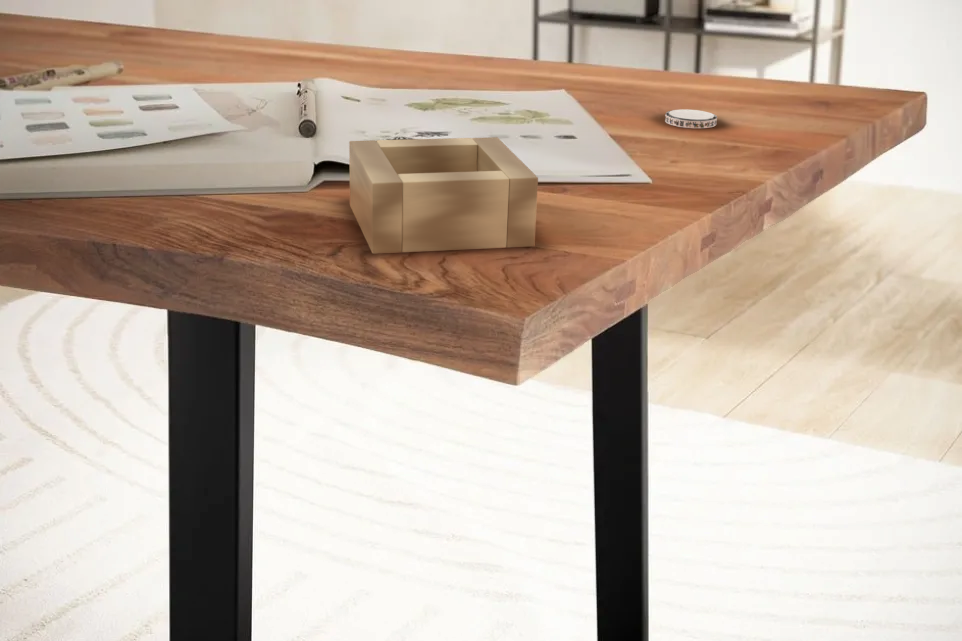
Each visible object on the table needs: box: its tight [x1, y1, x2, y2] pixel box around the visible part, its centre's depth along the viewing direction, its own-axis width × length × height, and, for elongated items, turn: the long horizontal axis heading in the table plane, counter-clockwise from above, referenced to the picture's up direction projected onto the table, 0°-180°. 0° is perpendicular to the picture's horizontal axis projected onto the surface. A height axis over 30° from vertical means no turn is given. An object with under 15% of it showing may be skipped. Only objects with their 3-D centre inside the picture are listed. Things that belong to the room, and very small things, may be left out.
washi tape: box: [664, 108, 718, 129], centre depth 97 cm, size 4×4×1 cm
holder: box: [348, 136, 539, 254], centre depth 70 cm, size 9×9×4 cm
